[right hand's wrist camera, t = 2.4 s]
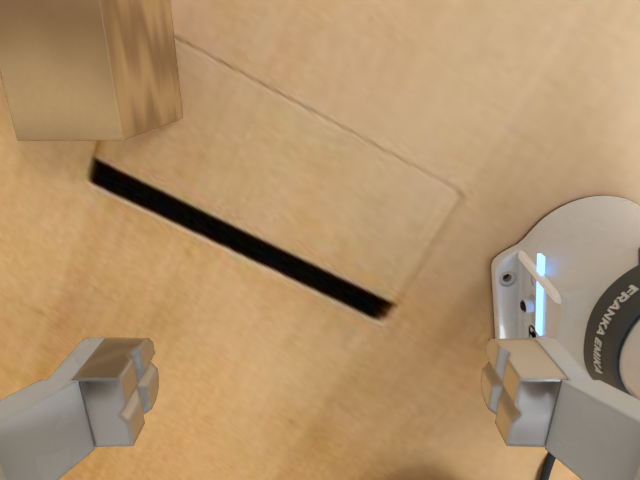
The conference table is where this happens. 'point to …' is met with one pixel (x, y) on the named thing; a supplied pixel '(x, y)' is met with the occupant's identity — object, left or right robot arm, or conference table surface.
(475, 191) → the conference table surface
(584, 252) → the right robot arm
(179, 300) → the conference table surface
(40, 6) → the box
